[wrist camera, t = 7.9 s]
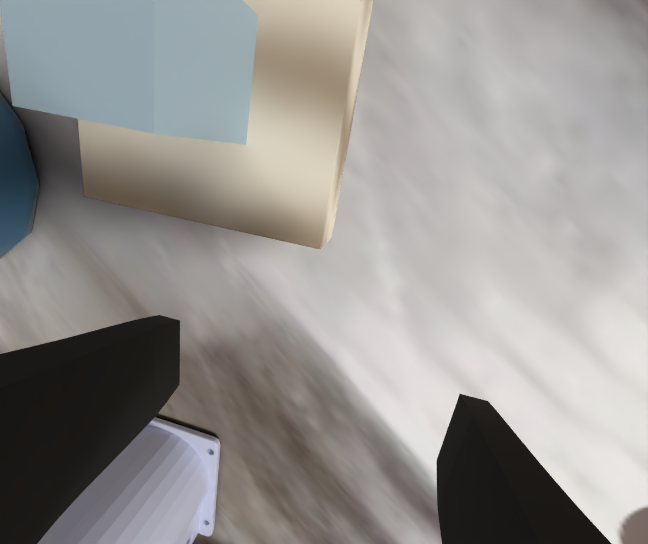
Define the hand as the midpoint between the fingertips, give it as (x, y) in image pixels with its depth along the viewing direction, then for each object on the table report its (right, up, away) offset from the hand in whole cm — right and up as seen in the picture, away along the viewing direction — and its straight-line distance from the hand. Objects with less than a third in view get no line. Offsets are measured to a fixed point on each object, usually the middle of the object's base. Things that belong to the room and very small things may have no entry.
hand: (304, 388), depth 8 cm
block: (-4, +11, +5) cm, 13 cm away
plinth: (-4, +12, +7) cm, 14 cm away
